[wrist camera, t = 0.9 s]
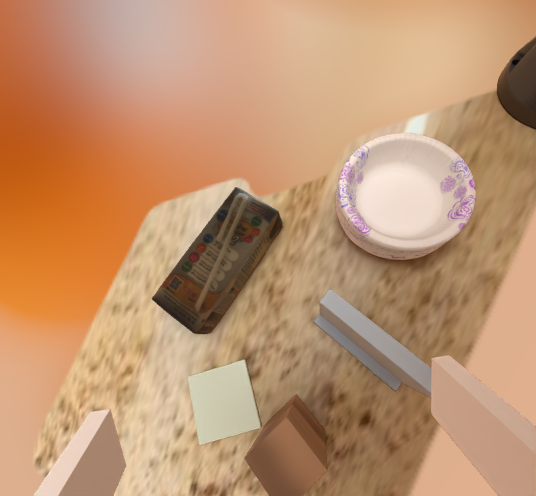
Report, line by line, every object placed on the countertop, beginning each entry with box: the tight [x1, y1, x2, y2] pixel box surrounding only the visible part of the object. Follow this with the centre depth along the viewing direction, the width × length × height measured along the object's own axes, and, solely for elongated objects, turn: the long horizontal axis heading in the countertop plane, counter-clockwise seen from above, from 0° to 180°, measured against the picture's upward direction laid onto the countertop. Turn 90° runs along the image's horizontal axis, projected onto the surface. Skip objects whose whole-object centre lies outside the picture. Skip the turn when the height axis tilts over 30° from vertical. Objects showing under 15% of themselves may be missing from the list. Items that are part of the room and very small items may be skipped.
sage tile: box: [188, 359, 262, 445], centre depth 36 cm, size 8×8×1 cm
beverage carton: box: [152, 187, 282, 334], centre depth 39 cm, size 8×19×7 cm, turn 145°
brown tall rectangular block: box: [245, 394, 327, 496], centre depth 29 cm, size 5×5×11 cm
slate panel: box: [314, 289, 431, 398], centre depth 29 cm, size 12×4×14 cm, turn 49°
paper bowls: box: [336, 133, 476, 260], centre depth 37 cm, size 15×15×8 cm
